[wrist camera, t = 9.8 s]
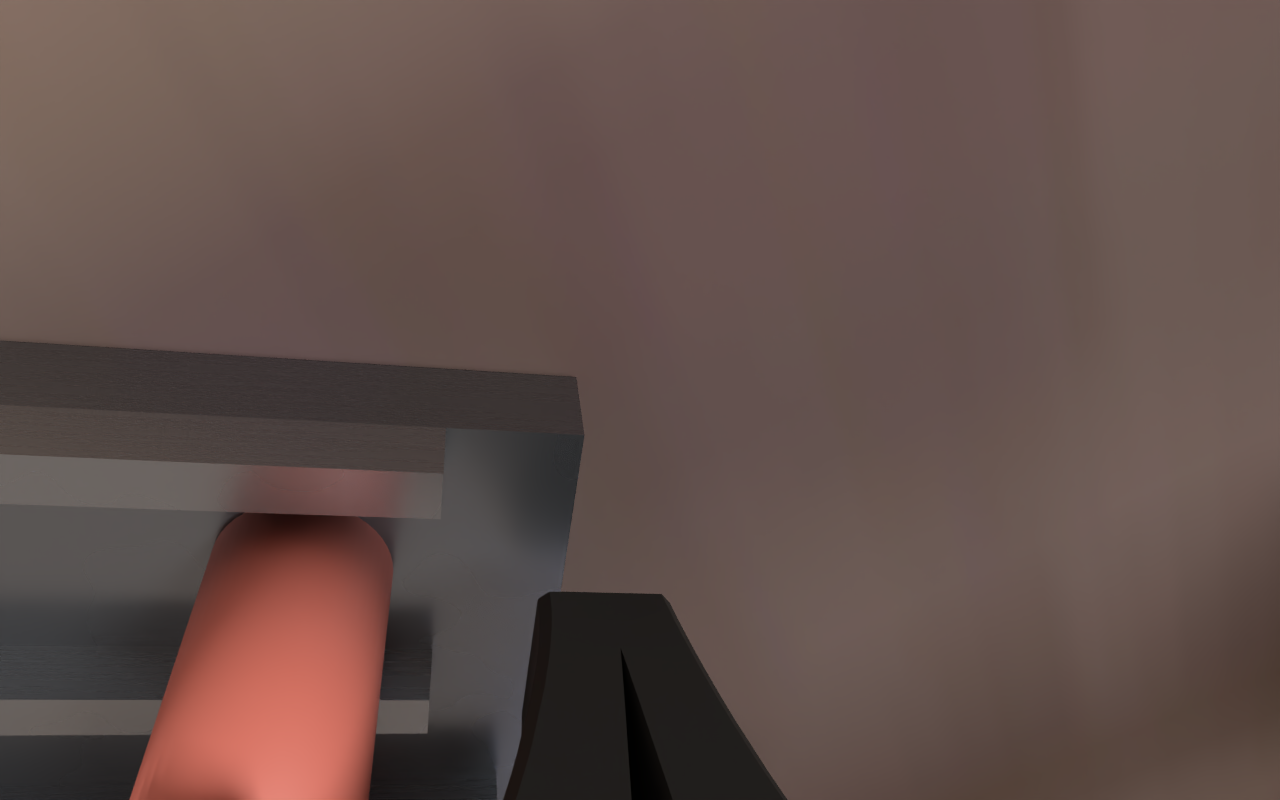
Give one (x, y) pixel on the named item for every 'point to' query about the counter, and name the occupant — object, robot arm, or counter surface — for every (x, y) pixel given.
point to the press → (282, 484)
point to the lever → (277, 666)
